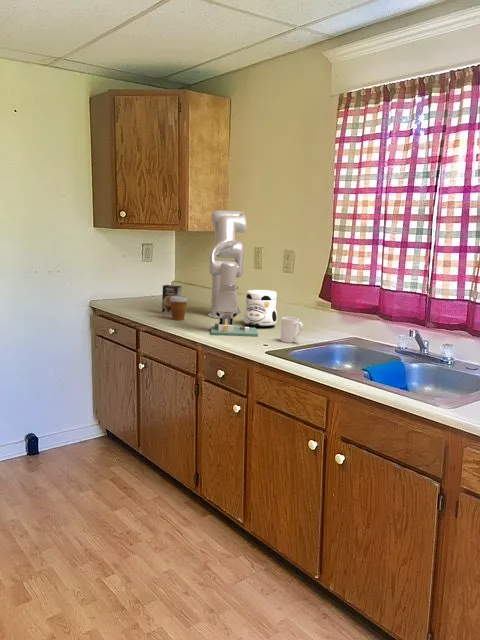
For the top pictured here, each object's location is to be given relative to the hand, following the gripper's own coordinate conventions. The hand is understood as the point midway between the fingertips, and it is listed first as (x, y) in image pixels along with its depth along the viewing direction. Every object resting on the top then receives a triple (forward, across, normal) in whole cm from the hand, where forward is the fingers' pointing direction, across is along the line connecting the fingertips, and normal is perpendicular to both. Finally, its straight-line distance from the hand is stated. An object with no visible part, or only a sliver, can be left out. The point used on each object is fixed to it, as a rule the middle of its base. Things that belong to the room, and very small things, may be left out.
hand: (225, 326), depth 270 cm
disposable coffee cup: (+3, +25, -30) cm, 39 cm away
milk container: (+3, -18, -20) cm, 27 cm away
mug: (+3, -30, +17) cm, 35 cm away
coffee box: (+3, +30, -46) cm, 55 cm away
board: (+3, -4, 0) cm, 5 cm away
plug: (+1, 0, 0) cm, 1 cm away
